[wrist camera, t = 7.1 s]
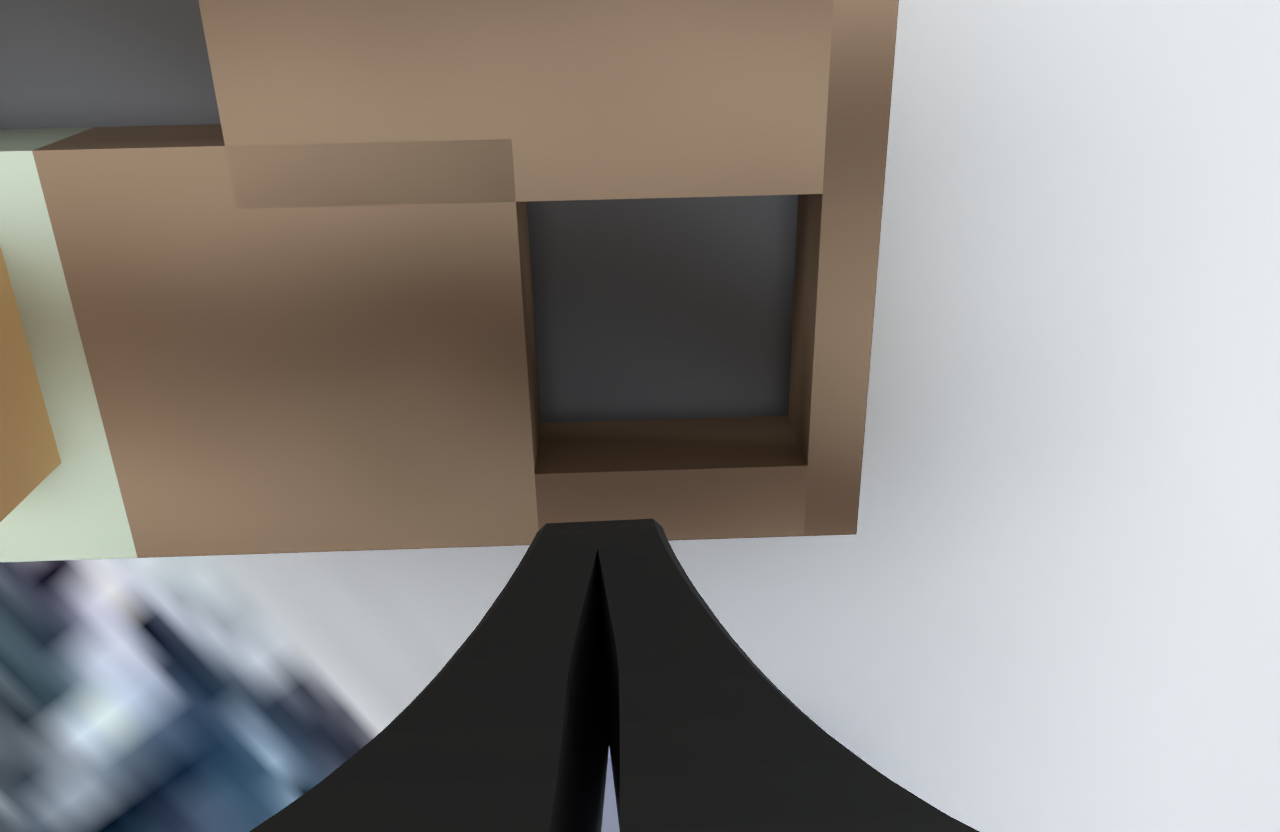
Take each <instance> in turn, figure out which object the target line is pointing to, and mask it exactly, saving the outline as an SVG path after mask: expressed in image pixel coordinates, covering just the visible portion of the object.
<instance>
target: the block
mask: <svg viewBox="0 0 1280 832" xmlns="http://www.w3.org/2000/svg"><path fill="white" fill-rule="evenodd" d="M60 464H61V459H60V456H59V452H58V449H57V445H56V441H55V438H54V434H53V431H52V427H51V424H50V420H49V417H48V413H47V409H46V406H45V402H44V399H43V395H42V392H41V388H40V385H39V381H38V377H37V374H36V370H35V367H34V363H33V360H32V356H31V353H30V349H29V345H28V342H27V338H26V335H25V331H24V328H23V324H22V320H21V317H20V313H19V310H18V306H17V303H16V299H15V296H14V292H13V288H12V285H11V281H10V278H9V274H8V271H7V267H6V264H5V260H4V256H3V253H2V249H1V246H0V522H1V521H2V520H3V519H4V518H5V517H6V516H7V515H8V514H9V513H10V512H11V511H12V510H13V509H14V508H16V507H17V506H18V505H19V504H20V503H21V502H22V501H23V500H24V499H25V498H26V497H27V496H28V495H29V494H30V493H31V492H32V491H33V490H34V489H35V488H36V487H37V486H38V485H39V484H40V483H41V482H42V481H43V480H44V479H45V478H46V477H47V476H48V475H49V474H50V473H51V472H53V471H54V470H55V469H56V468H57V467H58V466H59V465H60Z"/></svg>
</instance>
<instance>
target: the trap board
mask: <svg viewBox="0 0 1280 832" xmlns="http://www.w3.org/2000/svg"><path fill="white" fill-rule="evenodd" d="M898 4H899V0H0V246H1V249H2V253H3V256H4V260H5V264H6V267H7V271H8V274H9V278H10V281H11V285H12V288H13V292H14V296H15V299H16V303H17V306H18V310H19V313H20V317H21V320H22V324H23V328H24V331H25V335H26V338H27V342H28V345H29V349H30V353H31V356H32V360H33V363H34V367H35V370H36V374H37V377H38V381H39V385H40V388H41V392H42V395H43V399H44V402H45V406H46V409H47V413H48V417H49V420H50V424H51V427H52V431H53V434H54V438H55V441H56V445H57V449H58V452H59V456H60V459H61V464H60V465H59V466H58V467H57V468H56V469H55V470H54V471H53V472H51V473H50V474H49V475H48V476H47V477H46V478H45V479H44V480H43V481H42V482H41V483H40V484H39V485H38V486H37V487H36V488H35V489H34V490H33V491H32V492H31V493H30V494H29V495H28V496H27V497H26V498H25V499H24V500H23V501H22V502H21V503H20V504H19V505H18V506H17V507H16V508H14V509H13V510H12V511H11V512H10V513H9V514H8V515H7V516H6V517H5V518H4V519H3V520H2V521H1V522H0V562H23V561H54V560H85V559H115V558H146V557H176V556H207V555H238V554H268V553H299V552H329V551H360V550H391V549H421V548H452V547H483V546H513V545H531V543H532V541H533V539H534V537H535V535H536V533H537V532H538V531H539V530H540V529H541V528H542V527H543V526H544V525H545V524H546V523H565V522H588V521H610V520H632V519H654V520H655V521H656V522H658V523H659V524H660V525H661V526H662V527H663V529H664V532H665V535H666V537H667V540H697V539H727V538H758V537H789V536H819V535H850V534H856V532H857V520H858V507H859V494H860V482H861V469H862V457H863V444H864V432H865V419H866V406H867V394H868V381H869V369H870V356H871V344H872V331H873V318H874V306H875V293H876V281H877V268H878V255H879V243H880V230H881V218H882V205H883V193H884V180H885V167H886V155H887V142H888V130H889V117H890V105H891V92H892V79H893V67H894V54H895V42H896V29H897V16H898Z"/></svg>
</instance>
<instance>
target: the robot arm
mask: <svg viewBox="0 0 1280 832" xmlns="http://www.w3.org/2000/svg"><path fill="white" fill-rule="evenodd" d="M250 832H979V831H977V830H975V829H973V828H971V827H969V826H967V825H965V824H963V823H962V822H960V821H958V820H956V819H954V818H952V817H950V816H948V815H946V814H945V813H943V812H941V811H940V810H938V809H936V808H935V807H933V806H931V805H930V804H928V803H927V802H925V801H923V800H922V799H920V798H918V797H917V796H915V795H914V794H912V793H910V792H909V791H907V790H906V789H904V788H902V787H901V786H899V785H898V784H896V783H894V782H893V781H891V780H890V779H888V778H887V777H885V776H884V775H882V774H881V773H880V772H878V771H877V770H875V769H874V768H872V767H871V766H870V765H868V764H867V763H866V762H864V761H863V760H862V759H860V758H859V757H858V756H856V755H855V754H854V753H852V752H851V751H850V750H848V749H847V748H846V747H844V746H843V745H842V744H840V743H839V742H838V741H836V740H835V739H834V738H832V737H831V736H830V735H828V734H827V733H826V732H825V731H824V730H822V729H821V728H820V727H819V726H818V725H817V724H816V723H814V722H813V721H812V720H811V719H810V718H809V717H807V716H806V715H805V714H804V713H803V712H802V711H801V710H800V709H799V708H798V707H797V706H795V705H794V704H793V703H792V702H791V701H790V700H789V699H788V698H787V697H786V696H785V695H784V694H783V693H782V692H781V691H780V690H779V689H778V688H777V687H776V686H775V685H774V684H773V683H772V682H771V681H770V680H769V679H768V678H767V677H766V676H765V675H764V674H763V673H762V672H761V670H760V669H759V668H758V667H757V666H756V665H755V664H754V663H753V662H752V661H751V659H750V658H749V657H748V656H747V655H746V654H745V652H744V651H743V650H742V649H741V648H740V647H739V645H738V644H737V643H736V642H735V641H734V640H733V638H732V637H731V636H730V635H729V633H728V632H727V631H726V630H725V628H724V627H723V626H722V624H721V623H720V622H719V621H718V619H717V618H716V616H715V615H714V614H713V612H712V611H711V609H710V608H709V607H708V605H707V604H706V603H705V601H704V600H703V598H702V597H701V596H700V594H699V593H698V591H697V590H696V588H695V587H694V585H693V584H692V582H691V581H690V579H689V578H688V576H687V574H686V573H685V571H684V569H683V568H682V566H681V564H680V563H679V561H678V559H677V557H676V556H675V554H674V552H673V550H672V548H671V546H670V544H669V542H668V540H667V537H666V535H665V532H664V529H663V527H662V526H661V525H660V524H659V523H658V522H656V521H655V520H654V519H632V520H610V521H588V522H565V523H546V524H545V525H544V526H543V527H542V528H541V529H540V530H539V531H538V532H537V533H536V535H535V537H534V539H533V541H532V543H531V545H530V547H529V548H528V550H527V552H526V554H525V556H524V557H523V559H522V561H521V562H520V564H519V566H518V567H517V569H516V570H515V572H514V574H513V575H512V577H511V578H510V580H509V581H508V583H507V585H506V586H505V588H504V589H503V590H502V592H501V593H500V595H499V596H498V598H497V599H496V600H495V602H494V603H493V605H492V606H491V607H490V609H489V610H488V612H487V613H486V615H485V616H484V617H483V619H482V620H481V622H480V623H479V624H478V626H477V627H476V628H475V630H474V631H473V632H472V633H471V635H470V636H469V637H468V638H467V639H466V641H465V642H464V643H463V644H462V646H461V647H460V648H459V649H458V650H457V652H456V653H455V654H454V655H453V657H452V658H451V659H450V660H449V661H448V663H447V664H446V665H445V666H444V667H443V669H442V670H441V671H440V672H439V673H438V674H437V676H436V677H435V678H434V679H433V680H432V681H431V682H430V683H429V684H428V686H427V687H426V688H425V689H424V690H423V691H422V692H421V693H420V694H419V695H418V696H417V697H416V698H415V699H414V700H413V701H412V702H411V704H410V705H409V706H407V707H406V708H405V709H404V710H403V711H402V712H401V713H400V714H399V715H398V716H397V717H396V718H395V719H394V720H393V721H392V722H391V723H390V724H389V725H388V726H387V727H386V728H385V729H384V730H383V731H382V732H381V733H379V734H378V735H377V736H376V737H375V738H374V739H373V740H371V741H370V742H369V743H368V744H367V745H365V746H364V747H363V748H362V749H361V750H359V751H358V752H357V753H356V754H354V755H353V756H352V757H351V758H350V759H348V760H347V761H346V762H345V763H344V764H342V765H341V766H340V767H339V768H337V769H336V770H335V771H334V772H333V773H331V774H330V775H329V776H328V777H326V778H325V779H324V780H323V781H321V782H320V783H319V784H317V785H316V786H315V787H313V788H312V789H311V790H309V791H308V792H306V793H305V794H304V795H302V796H301V797H299V798H298V799H297V800H295V801H294V802H292V803H291V804H290V805H288V806H287V807H285V808H284V809H283V810H281V811H280V812H278V813H277V814H275V815H274V816H272V817H271V818H269V819H268V820H266V821H265V822H263V823H262V824H260V825H259V826H257V827H256V828H254V829H253V830H251V831H250Z"/></svg>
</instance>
